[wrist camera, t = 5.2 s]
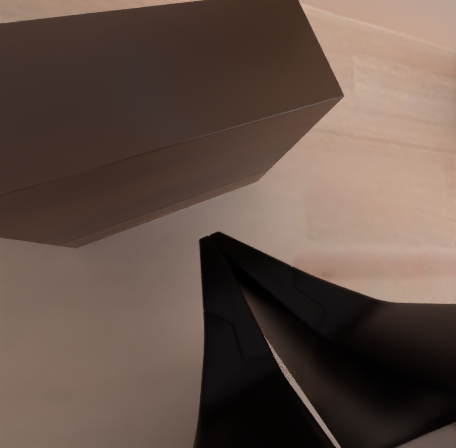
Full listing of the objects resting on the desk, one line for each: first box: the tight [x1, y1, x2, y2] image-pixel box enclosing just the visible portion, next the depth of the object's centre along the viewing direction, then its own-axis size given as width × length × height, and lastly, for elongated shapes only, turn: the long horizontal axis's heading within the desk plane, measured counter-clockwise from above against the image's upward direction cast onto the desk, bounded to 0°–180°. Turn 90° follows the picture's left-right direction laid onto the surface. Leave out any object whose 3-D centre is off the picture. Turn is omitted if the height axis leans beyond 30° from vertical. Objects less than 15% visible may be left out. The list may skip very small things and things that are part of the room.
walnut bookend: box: [0, 0, 344, 248], centre depth 12 cm, size 12×14×10 cm
